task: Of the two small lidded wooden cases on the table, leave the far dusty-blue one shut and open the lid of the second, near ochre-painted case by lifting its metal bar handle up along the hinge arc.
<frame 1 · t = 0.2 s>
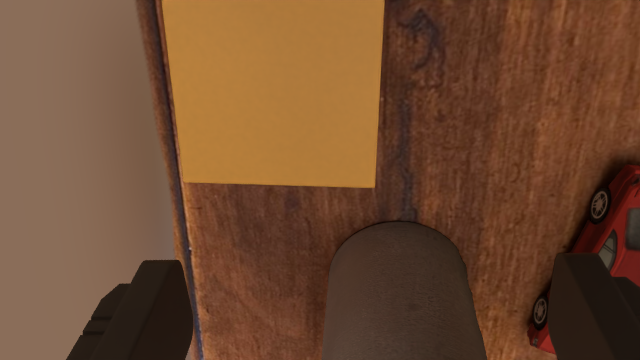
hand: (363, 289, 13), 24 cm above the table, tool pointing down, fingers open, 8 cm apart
pillar candle: (395, 276, 42), on the table
lid 2: (268, 65, 25), point 10 cm above the table, hinge at 0.0°
toy car: (596, 252, 40), on the table
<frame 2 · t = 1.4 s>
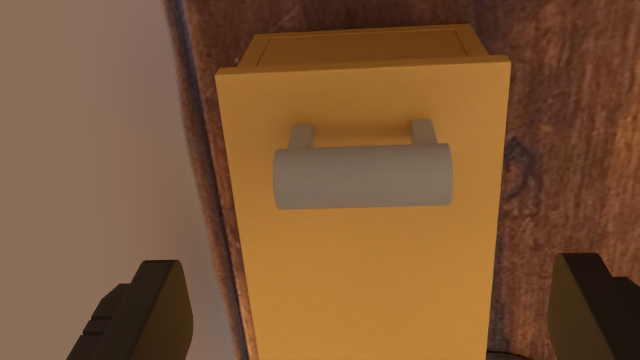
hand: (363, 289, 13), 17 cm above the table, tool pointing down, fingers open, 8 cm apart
lid 2: (366, 268, 21), point 10 cm above the table, hinge at 0.0°
case 2: (365, 154, 30), on the table
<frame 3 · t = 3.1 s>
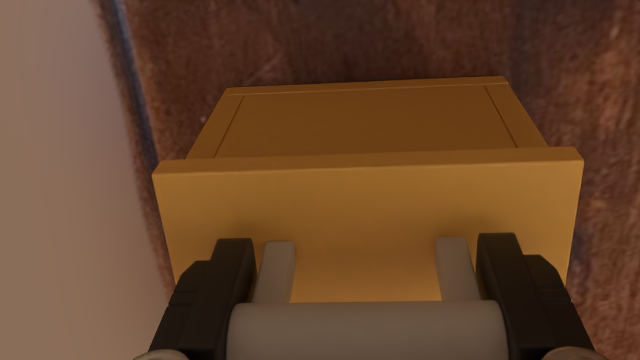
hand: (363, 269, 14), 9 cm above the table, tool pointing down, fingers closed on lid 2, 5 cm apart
case 2: (367, 233, 24), on the table
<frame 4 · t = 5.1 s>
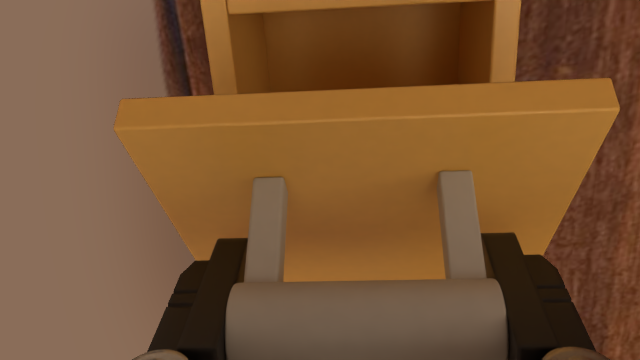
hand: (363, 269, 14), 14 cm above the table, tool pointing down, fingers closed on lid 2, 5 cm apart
lid 2: (367, 324, 16), point 13 cm above the table, hinge at 31.7°, touching gripper
case 2: (363, 102, 27), on the table
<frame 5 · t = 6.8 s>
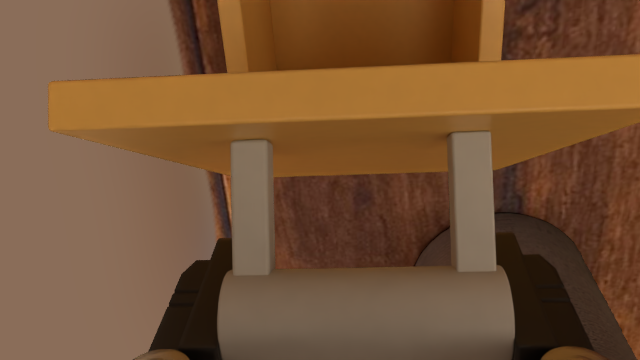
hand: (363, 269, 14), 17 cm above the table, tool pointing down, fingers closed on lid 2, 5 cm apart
pillar candle: (492, 283, 34), on the table
lid 2: (364, 224, 16), point 15 cm above the table, hinge at 59.5°, touching gripper
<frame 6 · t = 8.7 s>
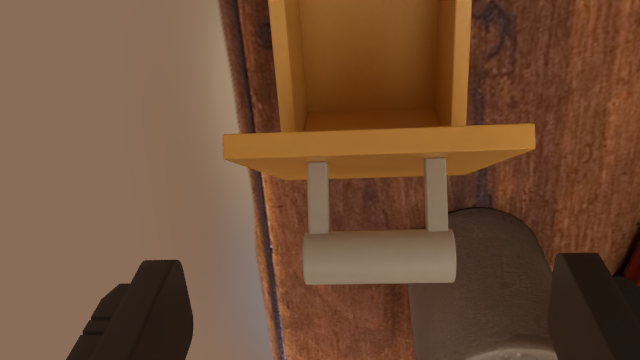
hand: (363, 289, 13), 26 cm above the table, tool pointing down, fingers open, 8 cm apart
pillar candle: (470, 263, 44), on the table
lid 2: (375, 209, 25), point 15 cm above the table, hinge at 60.1°
case 2: (368, 18, 36), on the table
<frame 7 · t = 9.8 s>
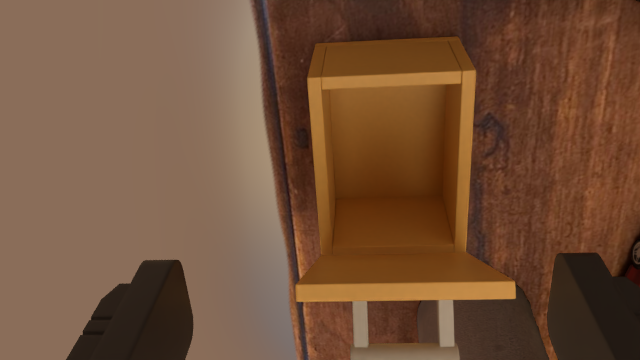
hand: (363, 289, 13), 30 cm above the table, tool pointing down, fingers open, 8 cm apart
pillar candle: (471, 314, 52), on the table
lid 2: (398, 310, 33), point 15 cm above the table, hinge at 60.1°
case 2: (387, 125, 44), on the table
toy car: (638, 287, 49), on the table
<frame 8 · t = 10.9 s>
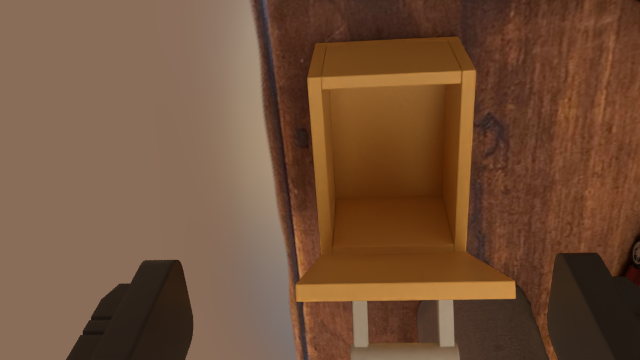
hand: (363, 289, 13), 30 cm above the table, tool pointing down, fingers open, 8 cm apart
pillar candle: (471, 314, 52), on the table
lid 2: (398, 310, 33), point 15 cm above the table, hinge at 60.1°
case 2: (387, 125, 44), on the table
toy car: (638, 287, 49), on the table
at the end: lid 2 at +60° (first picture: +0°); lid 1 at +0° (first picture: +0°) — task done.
